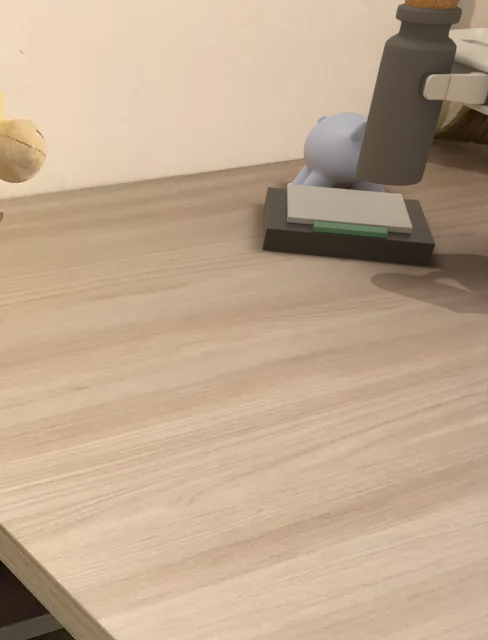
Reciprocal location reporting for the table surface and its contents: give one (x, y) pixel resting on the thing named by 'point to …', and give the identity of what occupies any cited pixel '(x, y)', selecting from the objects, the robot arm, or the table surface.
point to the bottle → (407, 94)
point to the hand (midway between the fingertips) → (403, 77)
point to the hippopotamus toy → (335, 153)
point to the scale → (346, 225)
